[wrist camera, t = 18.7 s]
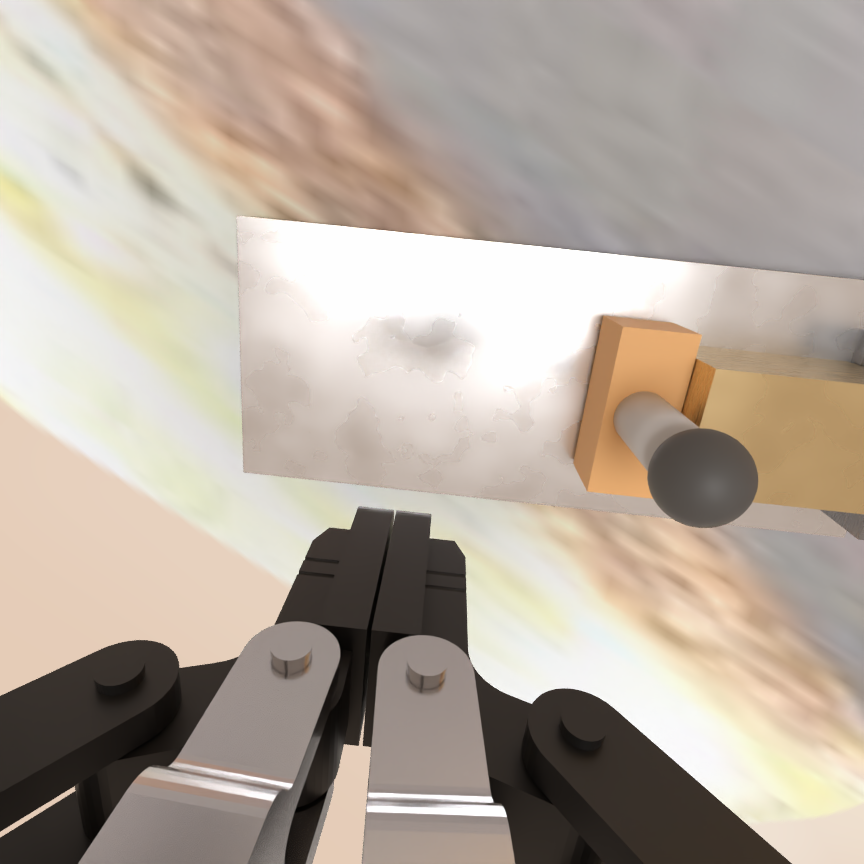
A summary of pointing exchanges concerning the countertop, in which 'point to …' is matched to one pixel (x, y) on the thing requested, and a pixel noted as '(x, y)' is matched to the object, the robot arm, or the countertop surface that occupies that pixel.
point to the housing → (787, 422)
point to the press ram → (657, 428)
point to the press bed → (485, 356)
